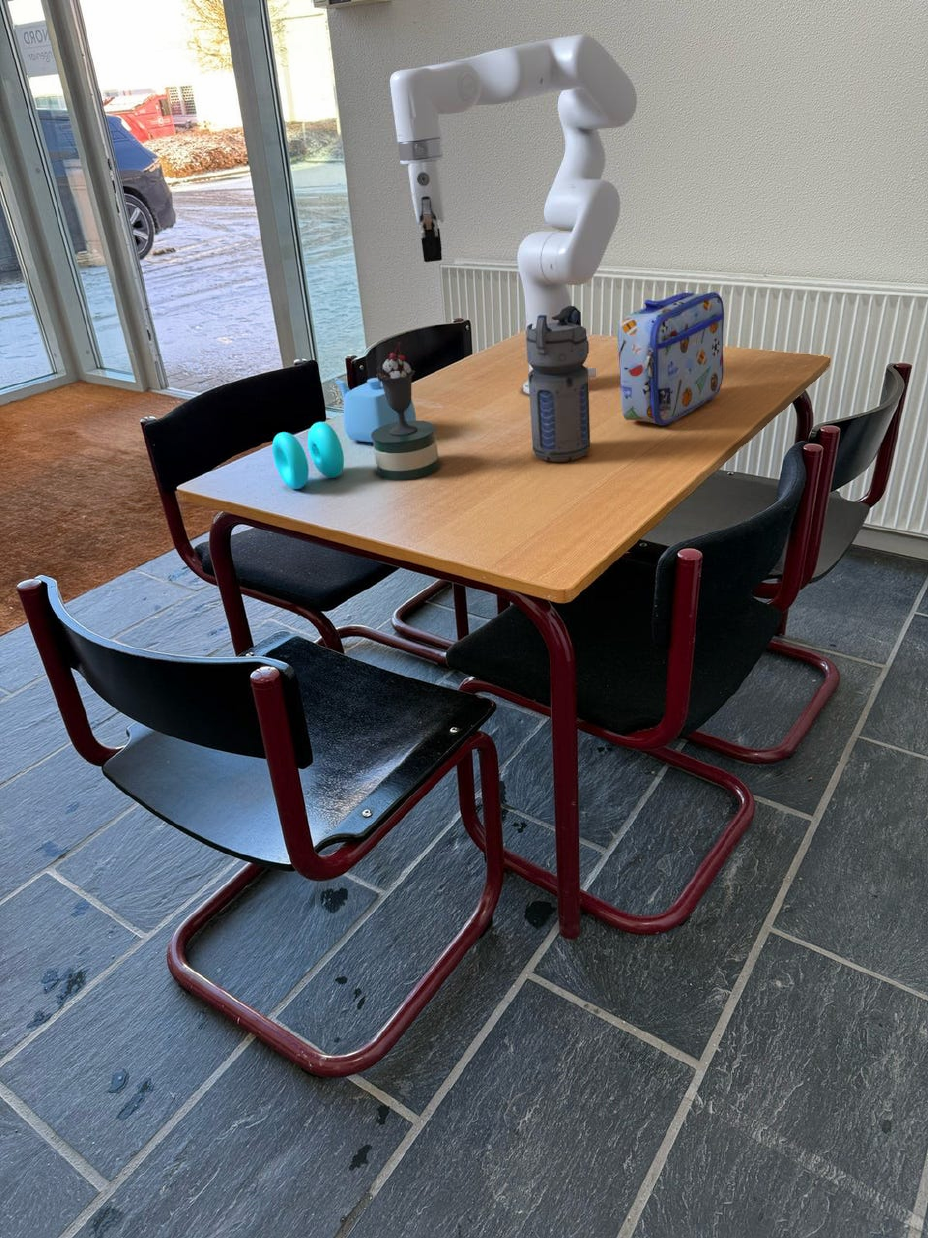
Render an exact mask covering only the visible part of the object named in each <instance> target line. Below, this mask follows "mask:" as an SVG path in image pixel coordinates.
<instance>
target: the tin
mask: <svg viewBox="0 0 928 1238" xmlns="http://www.w3.org/2000/svg"><path fill="white" fill-rule="evenodd" d="M398 423H399V422H395V423H390V424H387V425H384V426H381V427H379V428H377V429H375V430H374V431H373V432H372V434H371V438H372V439H373V442H372V444H373V452H374V457H375V458H374V459H375V463H376V468H377V474H378V476H380V477H381V478H384V479H387V480H390V481H407V480H415V479H419V478H424V477H426V476H428V475H431V474H433V473H434V472H436V471H437V470H438V468H439V467H440V464H439V452H438V451H439V450H438V444H437V443H438V442H437V438H436V429H437V428H436V425H435V424H434V423H432V422H429V421H425V420H418V419H417V420H411V421H406V423H407V424H408V425H412V426H416V427H417V431H415V432H414V433H411V434H408V435H400V436H398V435H392V434H390V430H391V429H392V428H395V427H397V426H398Z"/></svg>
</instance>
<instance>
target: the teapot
mask: <svg viewBox="0 0 928 1238" xmlns="http://www.w3.org/2000/svg"><path fill="white" fill-rule="evenodd" d="M333 383H335V384H336V385H337V386H338V388H339V390H340V392H341V395H342V400H343V401H342V402H343V427H344V432H345V434H346V436H347V437H348V439H349V440H352V441H357V442H360V443H373V439H372V438H371V434H372V432H373V431H374V430H375V429H377V428H379V427H381V426H384V425H387V424H390V423H395V422H399V418H398V413H397V412H396V411H394V410H393V409H391V408H390V407H389V405H388V402H387V399H386V396H385V392H384V389H383V385H382V382H381V381H379V380H378V379H377V377H372V378H369V379H367V380H366V382H365V383H363V384H361V385H358V386H356V387H354V388H352V389H350V387H349V386H348V385H347V383H346V382H344V381H343V380H340V379H334V380H333ZM404 415H405V420H406V421H411V420H416V419H417V416H416V411H415V406H414V402H413V398H411V404H410V405H409V407H408V408H407V409H406V410H405V412H404Z"/></svg>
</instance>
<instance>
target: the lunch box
mask: <svg viewBox="0 0 928 1238" xmlns="http://www.w3.org/2000/svg"><path fill="white" fill-rule="evenodd" d="M724 324H725V308H724V302H723V298H722V296H721V295H720V294H719V293H718V292H715V291H714V292H713V291H711V292H707V293H695V292H681V293H676V294H674V295H671V296H669V297H667V298H664V299H661V300H651V299H646V300H644V307H642V308H639V309H638V310H636V311H633V312H632V313H630V314H628V315H627V316H626V317H624V319H623V320H622V322H621V323H620V325H619V327H618V332H617V349H618V350H617V351H618V362H619V364H618V365H619V374H620V375H619V376H620V403H621V412H622V416H623V419H625V420H626V421H637V422H646V423H651V424H655V425H658V426H659V427H663V426H667V425H671V424H673V422H676V421H677V420H679V419H681V418H682V417H685V416H686V415H687V414H690V413H692V412H693V411H695V410H696V409H697V408H699V407H701V406H702V405H704V404H705V403H706V402H707V401H709V400H711V399H712V398H714V397H715V396H716V395H718V394H719V392H720V390H721V387H722V384H723V380H724V373H725V372H724V371H725V369H724V368H725V367H724V327H725V325H724Z"/></svg>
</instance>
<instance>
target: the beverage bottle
mask: <svg viewBox="0 0 928 1238" xmlns="http://www.w3.org/2000/svg"><path fill="white" fill-rule="evenodd" d="M546 319H547V315H539V316H538V317H537V324H536V328H534V329H532V325H533V324H530V325H528V326H526V329H525V336H526V337H525V344H526V345H525V347H526V360H527V363H528V365H529V364H530V365H531V367H532V368H533V370H531V372H530V373H529V372H528V374H527V377H528V378H527V379H528V380H527V381H529V394H528V395H529V410H530V411H529V412H530V423H531V424H530V427H531V441H532V442H531V443H532V451H533V453H534V455H535V456H536V457H537V458H538V459H540V460H542V461H547V462H552V463H565V462H571V461H575V460H577V459H580V458H583V457H584V456H585V455H587V454H588V452H589V450H590V448H591V426H590V424H591V423H590V390H589V387H590V386H589V378H588V369H587V368H586V367H587V366H585V365H584V363H585V362H586V361H587V358H588V356H589V355H588V354H589V353H590V344H589V342H590V341H588V336H587V329H586V328H585V327H584V326H583V325H582V311H580V310H579V309H578V308H577V307H576V306H575V305H571V306H568V307H566V308H564V309H562V310H561V312H560V314H558V315H556V316H554V317H552V319H553V320H559V322H558V323H550V324H547V320H546Z"/></svg>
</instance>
